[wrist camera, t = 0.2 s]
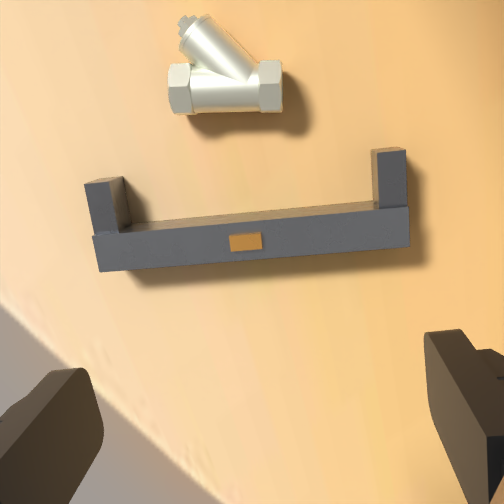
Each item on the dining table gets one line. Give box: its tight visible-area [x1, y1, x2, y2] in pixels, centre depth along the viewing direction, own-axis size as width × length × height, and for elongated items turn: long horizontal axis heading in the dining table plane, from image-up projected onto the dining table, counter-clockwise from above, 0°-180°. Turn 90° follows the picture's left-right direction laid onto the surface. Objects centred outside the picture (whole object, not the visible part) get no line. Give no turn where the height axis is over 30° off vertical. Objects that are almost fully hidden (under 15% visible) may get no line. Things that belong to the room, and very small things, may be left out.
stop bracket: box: [84, 147, 410, 272], centre depth 37 cm, size 7×24×4 cm, turn 97°
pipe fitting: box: [168, 14, 283, 115], centre depth 35 cm, size 8×4×7 cm
